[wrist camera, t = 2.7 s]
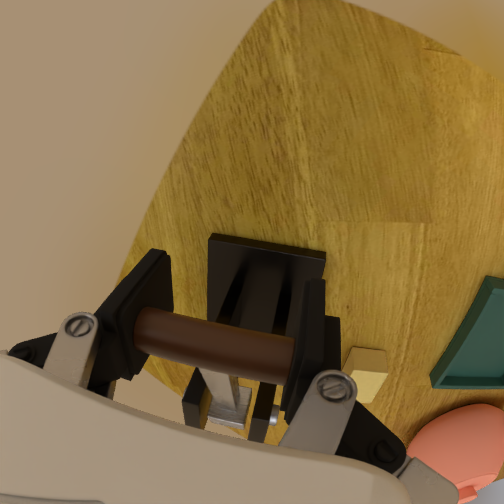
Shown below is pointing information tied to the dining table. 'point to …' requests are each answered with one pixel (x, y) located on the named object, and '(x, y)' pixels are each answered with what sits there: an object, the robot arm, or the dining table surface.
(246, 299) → the black lever stand
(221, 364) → the lever
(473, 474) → the teapot
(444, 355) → the tray
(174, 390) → the dining table surface
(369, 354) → the butter
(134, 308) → the robot arm
